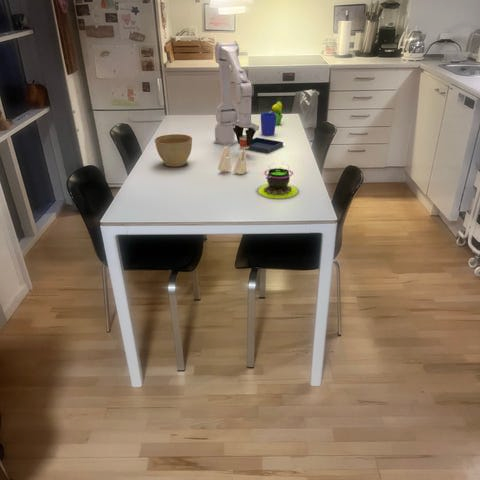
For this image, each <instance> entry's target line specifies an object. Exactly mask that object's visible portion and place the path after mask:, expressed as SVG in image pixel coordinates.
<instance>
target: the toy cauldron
mask: <svg viewBox="0 0 480 480" xmlns="http://www.w3.org/2000/svg"><path fill="white" fill-rule="evenodd" d="M272 165H273V164H270V165H268V169H266V170H264V171H263V175H264V176H266V177H265V179H266V182H267V184H264V185H262V186H260V187H259V188H258V193H259V195H260V196H263V197H265V198H269V199H275V200H276V199H277V200H278V199H282V200H283V199H289V198H292V197H295V196H296V195H297V194H298V189H297V188H296V187H295V186H292V185H289V183H290V181H291V180H290V179H291V177H292V176H294V174H295V173H294V171H292V170H290V169H289V168H290V167H289V164H286V166H288V168H283V167H282V166H280V167H279V168H278V167H275V168H271V167H270V166H272ZM282 165H285V162H283V163H282Z"/></svg>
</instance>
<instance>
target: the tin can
mask: <svg viewBox="0 0 480 480" xmlns="http://www.w3.org/2000/svg"><path fill="white" fill-rule="evenodd" d="M249 148H250V146H247V136H246V134H243V135H241V136H240V144H239V149H240V150H246V149H249Z"/></svg>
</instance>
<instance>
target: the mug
mask: <svg viewBox="0 0 480 480" xmlns="http://www.w3.org/2000/svg"><path fill="white" fill-rule="evenodd" d="M276 116H277V115H276V114H275V113H264V112H261V113H260V132H261V135H263V136H265V137H266V136H267V137H268V136H274V135H275V132H276V126H277V125H276Z"/></svg>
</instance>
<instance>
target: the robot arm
mask: <svg viewBox="0 0 480 480" xmlns="http://www.w3.org/2000/svg"><path fill="white" fill-rule="evenodd" d="M239 54H240V46H239V43H238V41H236V40H234V41H216V43H215V44H214V61H215V63H217V64H218V69H219V83H220V86H219V87H220V99H221V102H220V103H219V104H218V105H217V106H216V108H215V120H216V124H215V127H214V144H219V145H225V146H231V145H234V144H238V145H240V136H241V135H244V132H245V135H246V136H247V146H250V145H251V143H252V139H254V136H255V134H256V132H257V131H259V130H260V125H259V124H256V123H253V122H252V98H253V96H254V94H255V90H254V89H255V88H254V85H253V82H252V81H250V80H249V78H248V76H247V73H246V70H245V69H244V68H242V67H241V64H240V59H239ZM231 71H232V74H231ZM231 77H232V80H233V83H234V85H235V95H236V101H237V104H238V105H236V104H235V103H233V101H232V83H231ZM244 129H245V130H244ZM235 138H236V139H235Z"/></svg>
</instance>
